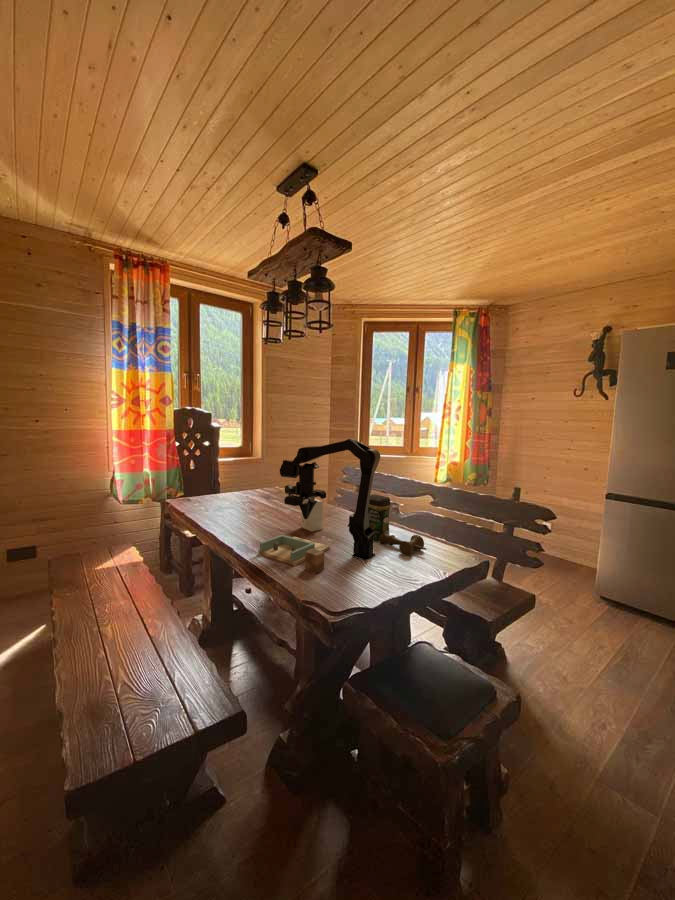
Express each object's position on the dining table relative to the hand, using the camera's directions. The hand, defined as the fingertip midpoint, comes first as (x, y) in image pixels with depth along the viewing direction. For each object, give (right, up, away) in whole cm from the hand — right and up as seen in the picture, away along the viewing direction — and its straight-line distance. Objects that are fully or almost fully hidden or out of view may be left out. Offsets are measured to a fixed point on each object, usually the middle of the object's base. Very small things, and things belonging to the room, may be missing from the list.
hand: (305, 519), depth 145 cm
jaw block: (+5, -13, -20) cm, 24 cm away
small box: (+1, -9, +24) cm, 26 cm away
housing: (-6, -10, -8) cm, 14 cm away
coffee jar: (+29, -11, +12) cm, 33 cm away
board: (-4, -11, -4) cm, 13 cm away
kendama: (+38, -12, 0) cm, 40 cm away
